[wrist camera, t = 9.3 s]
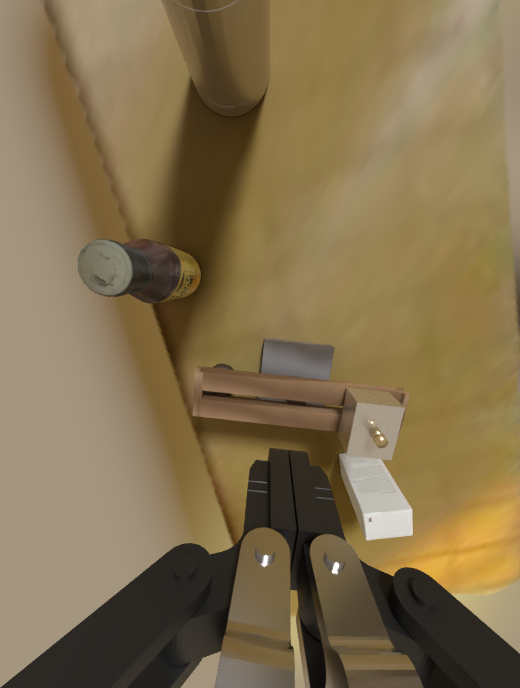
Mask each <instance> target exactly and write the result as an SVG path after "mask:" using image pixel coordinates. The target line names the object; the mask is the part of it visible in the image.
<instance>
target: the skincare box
mask: <svg viewBox="0 0 520 688" xmlns="http://www.w3.org/2000/svg"><path fill="white" fill-rule="evenodd" d="M339 461H340V469H341V476H342V479H343V481H344V484H345V487H346V489H347V492H348V495H349V497H350V500H351V503H352V505H353V508H354V511H355V513H356V516H357V519H358V521H359V524H360V526H361V529H362V532H363V534H364V537H365V539H366V540H375V539H383V538H393V537H402V536H412V535H413V527H412V508H411V507H410V505H409V503H408V502H407V500H406V499H405V497H404V496H403V494H402V492H401V491H400V489H399V488H398V486H397V484H396V483H395V481H394V479H393V478H392V476H391V475H390V473H389V471H388V470H387V468H386V466H385V465H384V463H383V462H382V460H381V459H374V458H365V457H356V456H347V455H346V453H342V454H339Z"/></svg>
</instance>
